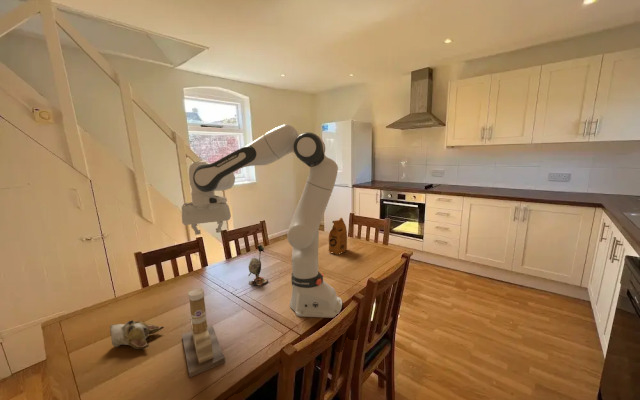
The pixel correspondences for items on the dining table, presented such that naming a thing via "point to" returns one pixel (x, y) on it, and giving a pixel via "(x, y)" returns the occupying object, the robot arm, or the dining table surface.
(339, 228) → the coffee package
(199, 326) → the sprinkles bottle
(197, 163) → the robot arm
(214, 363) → the ridge stand
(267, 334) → the dining table surface
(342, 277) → the dining table surface
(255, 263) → the bird figurine
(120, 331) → the ceramic sculpture
